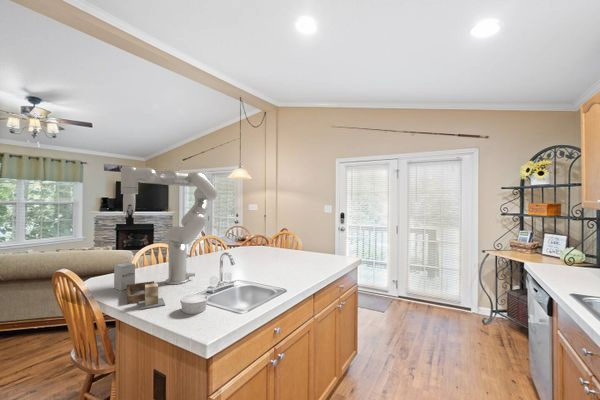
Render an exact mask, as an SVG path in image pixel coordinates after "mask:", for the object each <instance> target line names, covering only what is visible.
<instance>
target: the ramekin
mask: <svg viewBox="0 0 600 400" xmlns="http://www.w3.org/2000/svg"><path fill="white" fill-rule="evenodd" d="M208 300H209V296H208V295H206V294H203V293H194V294H188V295H185V296H183V297H181V298H180V301H179V302H180V305H181V310H182V312H183V313H184V314H185V315H197V314H201V313H203V312H204V311H205V310H206V309H207V305H208Z"/></svg>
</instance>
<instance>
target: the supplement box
mask: <svg viewBox="0 0 600 400" xmlns="http://www.w3.org/2000/svg"><path fill="white" fill-rule="evenodd" d="M113 268H114V269H113V272H114V273H113V274H114V275H113V288H114V289H116V290H119V291H124V290H127V285H129V284H136V264H135V263H132V262H124V263H118V264H114V267H113Z"/></svg>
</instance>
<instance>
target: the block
mask: <svg viewBox="0 0 600 400" xmlns="http://www.w3.org/2000/svg"><path fill="white" fill-rule="evenodd" d="M144 293H145V305H146V306H147V305H153V304H158V298H159V284H158V282H154V284H147V285H145V290H144Z"/></svg>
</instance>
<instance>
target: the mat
mask: <svg viewBox="0 0 600 400" xmlns="http://www.w3.org/2000/svg"><path fill="white" fill-rule="evenodd" d="M137 304H138V308H139V311H143V310H147V309H148V310H149V309H154V308H160V307H164V306H165V307H166V302H165V301H164V298H163V297H158V304H153V305H147V306H146V305H145V301H139V302H137Z"/></svg>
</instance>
